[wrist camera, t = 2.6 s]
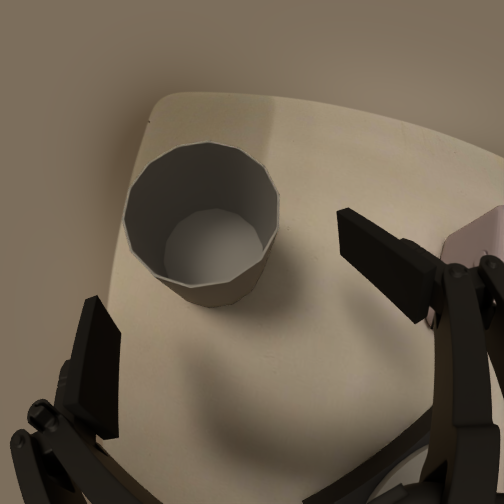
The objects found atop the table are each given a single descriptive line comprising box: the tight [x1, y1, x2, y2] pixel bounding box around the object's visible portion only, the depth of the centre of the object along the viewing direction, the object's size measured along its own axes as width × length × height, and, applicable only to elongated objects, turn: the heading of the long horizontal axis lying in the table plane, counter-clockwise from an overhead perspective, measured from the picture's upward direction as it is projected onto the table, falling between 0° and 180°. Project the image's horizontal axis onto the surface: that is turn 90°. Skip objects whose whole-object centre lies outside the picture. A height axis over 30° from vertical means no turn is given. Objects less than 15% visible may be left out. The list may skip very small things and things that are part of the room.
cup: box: [122, 141, 280, 308], centre depth 20 cm, size 8×8×10 cm
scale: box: [302, 406, 433, 504], centre depth 17 cm, size 16×14×4 cm
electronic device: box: [426, 205, 504, 327], centre depth 20 cm, size 10×5×10 cm, turn 152°
